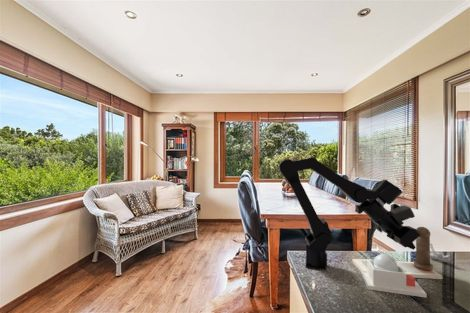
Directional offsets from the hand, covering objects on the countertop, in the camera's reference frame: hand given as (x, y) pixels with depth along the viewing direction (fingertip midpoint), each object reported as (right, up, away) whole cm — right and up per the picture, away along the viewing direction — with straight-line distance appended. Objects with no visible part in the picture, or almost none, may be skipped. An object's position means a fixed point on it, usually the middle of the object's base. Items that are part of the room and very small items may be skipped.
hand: (413, 248), depth 80 cm
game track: (-6, -7, +1) cm, 10 cm away
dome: (-15, -4, -9) cm, 18 cm away
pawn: (+3, -6, 0) cm, 7 cm away
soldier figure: (+15, -8, +9) cm, 19 cm away
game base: (-14, -7, -9) cm, 18 cm away
